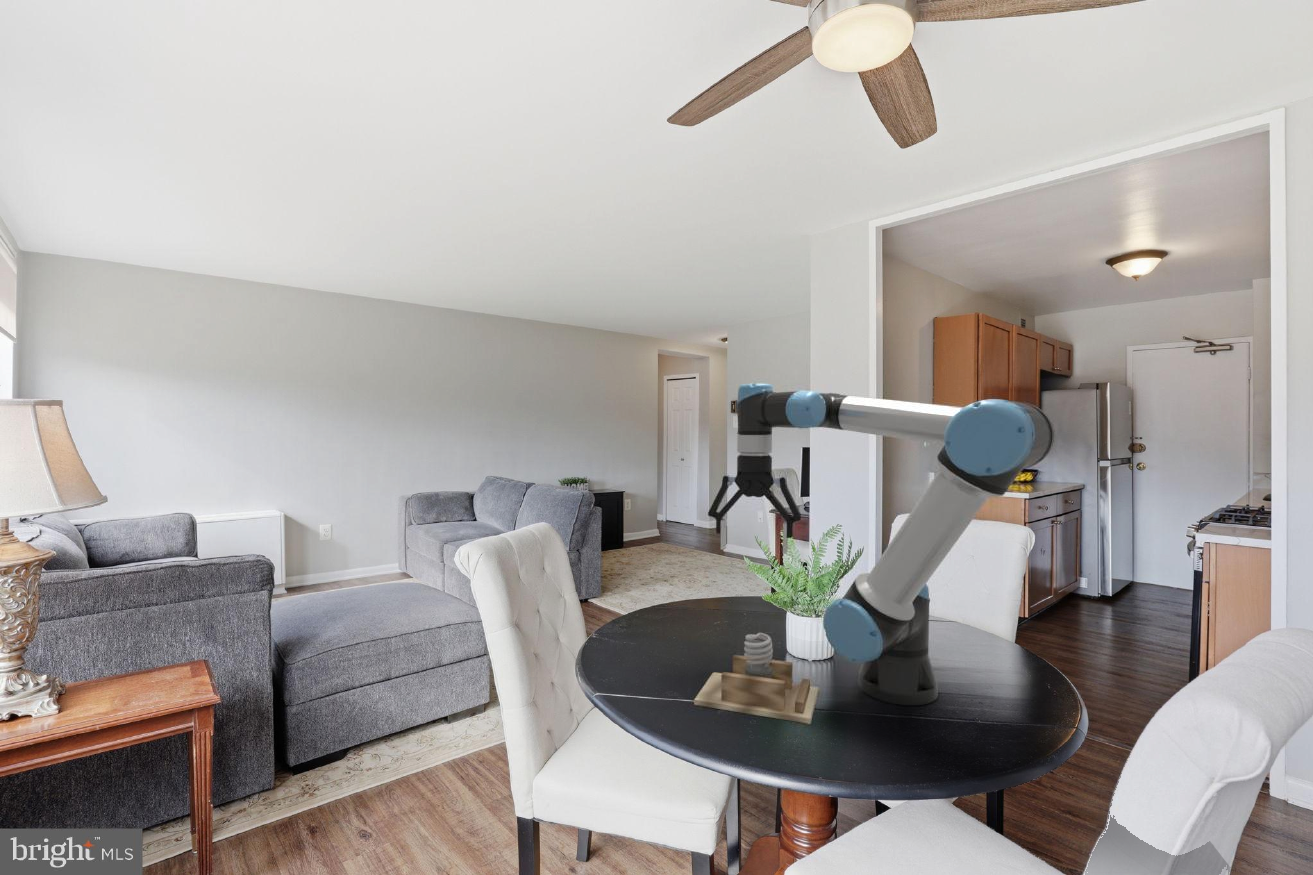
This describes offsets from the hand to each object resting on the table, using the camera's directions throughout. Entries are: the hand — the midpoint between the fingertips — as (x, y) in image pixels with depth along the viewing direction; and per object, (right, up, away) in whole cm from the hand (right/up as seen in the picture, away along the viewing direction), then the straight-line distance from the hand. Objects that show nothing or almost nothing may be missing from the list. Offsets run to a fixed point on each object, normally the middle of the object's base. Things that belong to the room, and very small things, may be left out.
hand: (753, 550), depth 136 cm
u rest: (-1, -27, -13) cm, 30 cm away
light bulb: (-1, -26, -14) cm, 29 cm away
